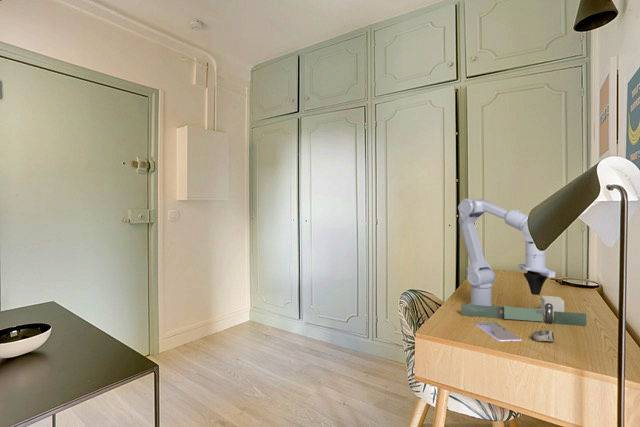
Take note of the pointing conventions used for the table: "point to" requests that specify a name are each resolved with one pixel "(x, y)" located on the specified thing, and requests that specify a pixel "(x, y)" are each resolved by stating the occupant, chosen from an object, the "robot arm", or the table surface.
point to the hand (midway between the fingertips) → (535, 294)
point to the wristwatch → (543, 335)
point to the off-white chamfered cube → (555, 301)
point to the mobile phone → (498, 332)
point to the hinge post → (564, 317)
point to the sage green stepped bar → (522, 313)
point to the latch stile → (482, 311)
